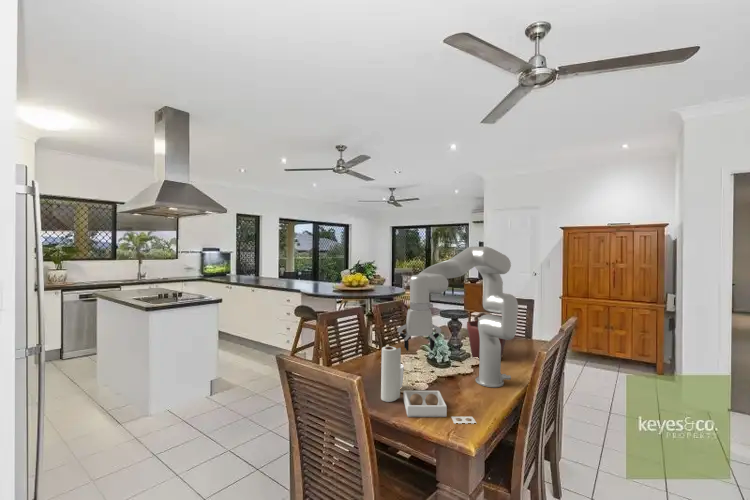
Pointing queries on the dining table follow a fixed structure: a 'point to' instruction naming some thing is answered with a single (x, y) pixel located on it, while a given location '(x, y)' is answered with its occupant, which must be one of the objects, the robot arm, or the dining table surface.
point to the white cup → (401, 375)
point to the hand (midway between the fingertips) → (419, 349)
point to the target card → (463, 420)
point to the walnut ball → (416, 399)
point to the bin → (425, 405)
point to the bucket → (475, 338)
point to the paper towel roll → (390, 373)
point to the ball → (431, 399)
